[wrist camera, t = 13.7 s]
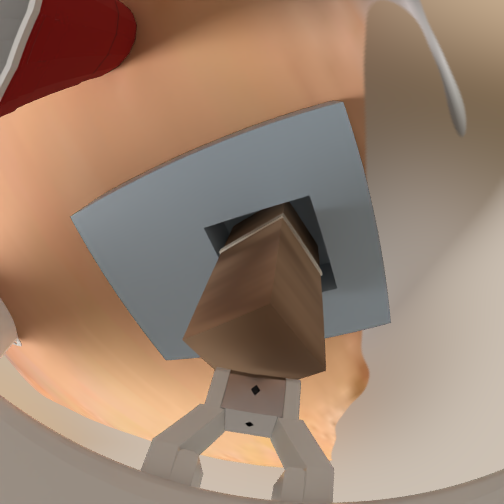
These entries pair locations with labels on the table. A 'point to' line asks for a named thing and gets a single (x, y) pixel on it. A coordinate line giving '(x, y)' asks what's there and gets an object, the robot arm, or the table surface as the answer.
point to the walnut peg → (263, 300)
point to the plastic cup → (58, 45)
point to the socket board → (233, 212)
